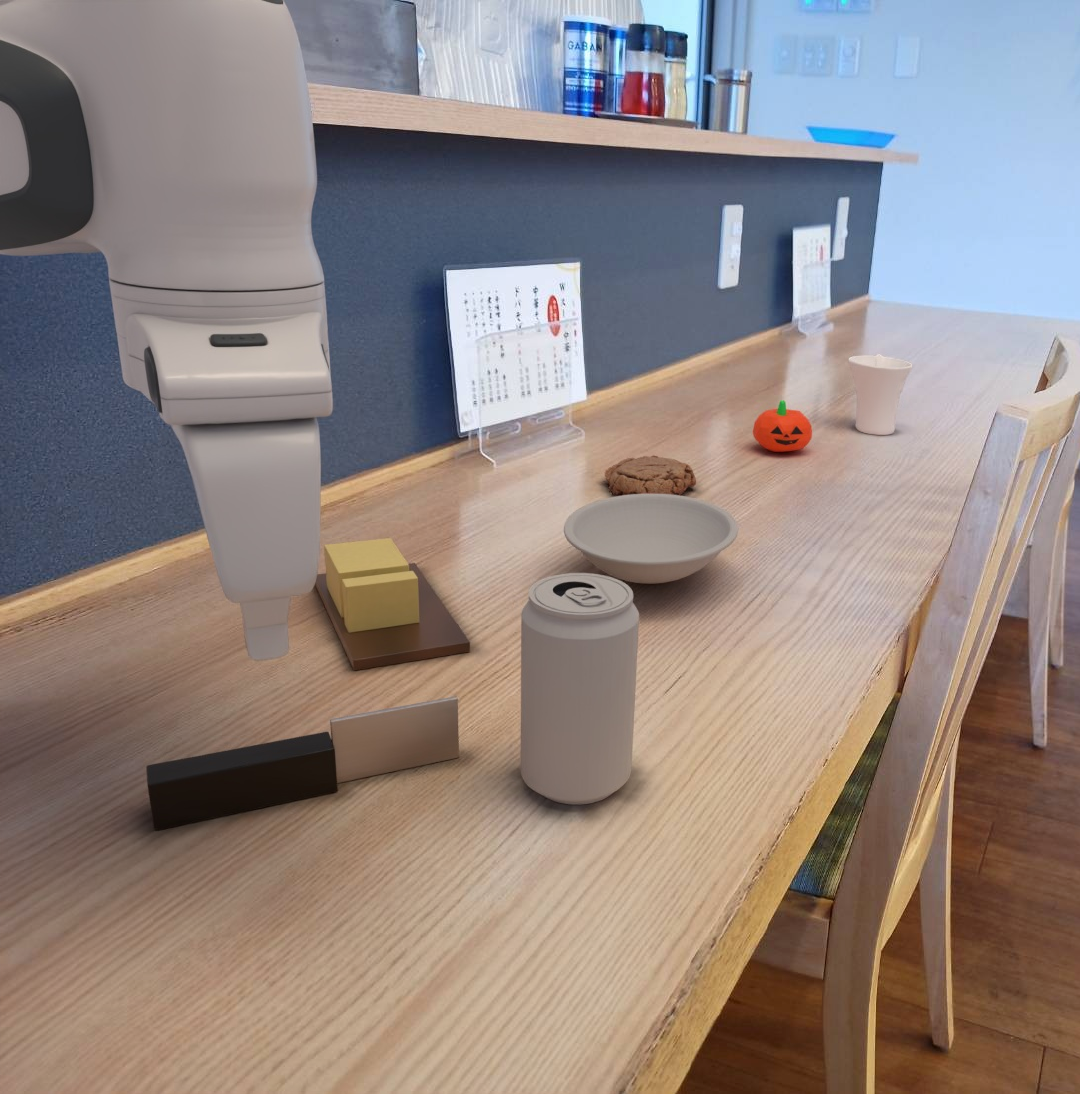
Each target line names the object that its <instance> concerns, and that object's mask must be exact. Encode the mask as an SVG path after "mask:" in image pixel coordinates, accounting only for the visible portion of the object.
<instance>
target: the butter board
mask: <svg viewBox="0 0 1080 1094" xmlns="http://www.w3.org/2000/svg"><path fill="white" fill-rule="evenodd" d="M408 564H409V571H413V572H414V573H415V575H416V576H417V578H418V596H419V623H413V624H406V625H400V626H393V627H386V628H379V629H372V630H365V631H358V632H352V633H349V632H348V630H347V628H346V626H345V621H344V618H342V617H341V615H340V613H339V611H338V609H337V607H336V605H335V603H334V601H333V599H332V597H331V595H330V592H329V590H328V588H327V579H326V572H325V573H318V574H317V578H316V582H315V585H314V587H315V588H316V590H317V592H318V594H319V596H320V599H321V601H322V603H323V606H324V608H325V610H326V613H327V615H328V617H329V619H330V621H331V624H332V625H333V627H334V630H335V632H336V633H337V634H336V635H337V636H338V639H339V641H340V643H341V644H342V647H343V649H344V653H345V654H346V656H347V658H348V660H349V663H350V665H351V667H352V669H353V671H359V670H365V669H371V668H378V667H385V666H391V665H396V664H403V663H409V662H415V661H421V660H428V659H433V658H439V657H446V656H451V655H457V654H463V653H470V652H471V642H470V640H469V639H468V637H467V636H466V634H465V633H464V632H463V630H462V629H461V627H460V626H459V624H458V623H457V621H456V620H455V619H454V617H453V616H452V614H451V613H450V610H448V609H447V607H446V606H445V604H444V603H443V601H442V600H441V598H440V597H439V595H438V594H437V593H436V591H435V590H434V588H433V587H432V585H431V583H429V581H428V580H427V578H426V576H425V575H424V573H422V571H421V569H420V568H419V567H418V565H417V564H416V562H410V563H408Z"/></svg>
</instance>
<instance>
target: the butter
mask: <svg viewBox="0 0 1080 1094" xmlns="http://www.w3.org/2000/svg"><path fill="white" fill-rule="evenodd" d="M323 548H324V562H325V573H326V579H327V588H328V590H329V592H330V595H331V597H332V599H333V601H334V603H335V605H336V607H337V609H338V611H339V613H340V615H341V617H342V618H344V605H343V589H342V579H349V578H357V577H365V576H374V575H382V574H390V573H398V572H406V571H409V564H410V563H408V561H407V560H406V559H405V557H404V555H403V554H402V553H401V551H400V550H399V548H398V546H397V545H396V544H395V542H394V541H393V539H392V538H391V537H386V538H378V539H377V538H376V539H368V540H359V541H358V540H357V541H350V542H349V541H347V542H339V543H329V544H324V545H323Z"/></svg>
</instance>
